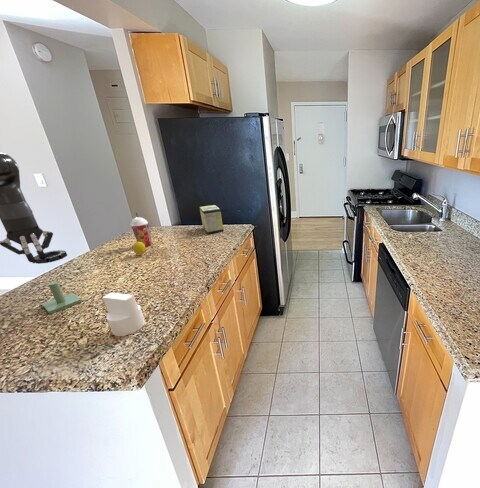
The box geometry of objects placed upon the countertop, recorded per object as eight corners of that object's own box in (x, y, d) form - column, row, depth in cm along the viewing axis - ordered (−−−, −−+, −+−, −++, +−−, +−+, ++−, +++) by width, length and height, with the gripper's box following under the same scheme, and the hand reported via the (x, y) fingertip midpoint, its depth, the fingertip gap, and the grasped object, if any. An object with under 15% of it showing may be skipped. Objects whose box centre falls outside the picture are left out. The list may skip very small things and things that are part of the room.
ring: (39, 265, 91) (37, 261, 91) (32, 260, 95) (30, 256, 95) (70, 256, 98) (68, 253, 97) (62, 252, 102) (60, 248, 101)
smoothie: (156, 242, 157) (148, 210, 150) (149, 248, 149) (139, 214, 142) (142, 243, 157) (133, 210, 149) (133, 248, 149) (123, 214, 141)
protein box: (218, 225, 188) (214, 204, 182) (224, 231, 176) (220, 209, 170) (202, 228, 182) (198, 206, 176) (207, 234, 170) (203, 211, 165)
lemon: (132, 256, 138) (128, 242, 135) (141, 252, 143) (137, 239, 140) (141, 257, 137) (136, 243, 134) (149, 253, 142) (146, 240, 139)
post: (49, 314, 93) (39, 292, 89) (42, 306, 97) (32, 285, 94) (81, 302, 100) (72, 281, 96) (73, 295, 104) (64, 275, 101)
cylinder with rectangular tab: (105, 334, 83) (92, 302, 79) (129, 316, 91) (119, 287, 87) (129, 337, 82) (117, 306, 77) (151, 319, 90) (142, 290, 85)
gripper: (41, 209, 95) (60, 252, 101) (-18, 218, 84) (7, 266, 90) (47, 212, 91) (66, 257, 97) (-13, 222, 80) (13, 271, 87)
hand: (38, 261), depth 94 cm, fingers closed on ring, 1 cm apart
